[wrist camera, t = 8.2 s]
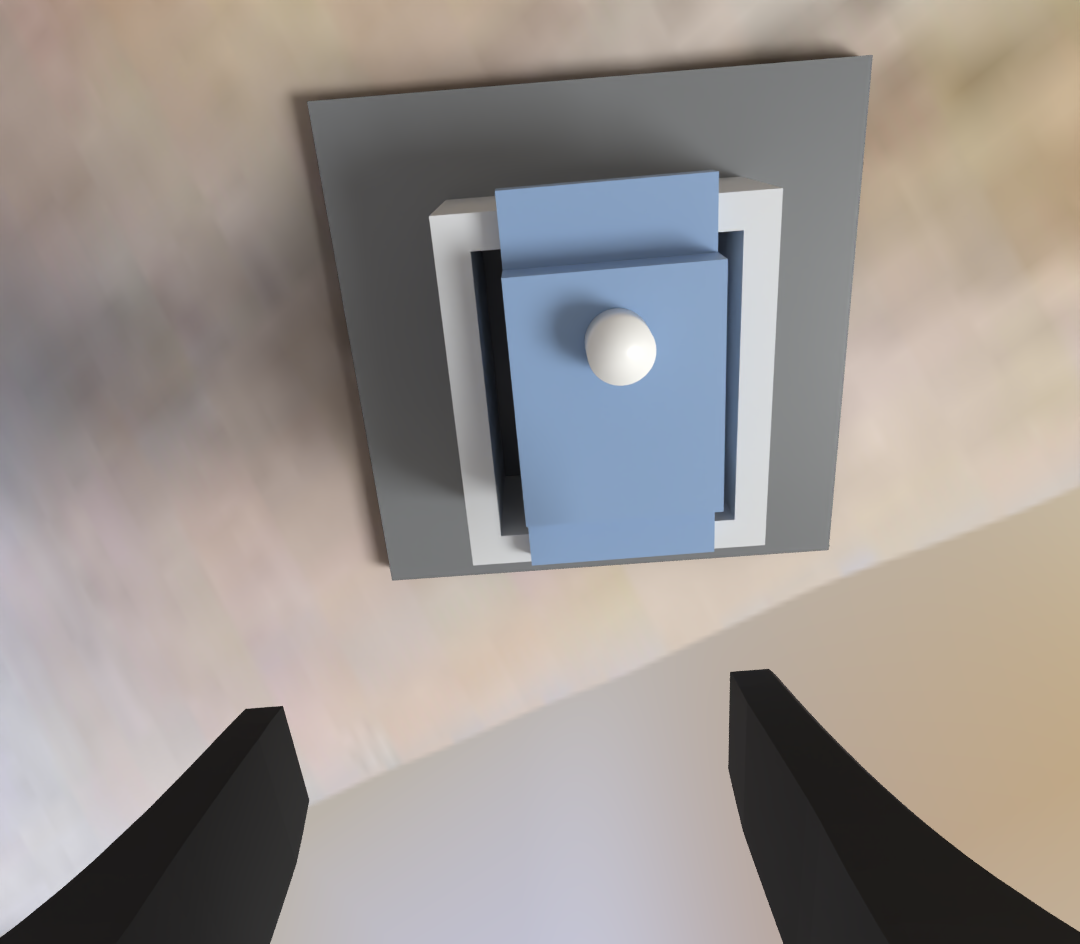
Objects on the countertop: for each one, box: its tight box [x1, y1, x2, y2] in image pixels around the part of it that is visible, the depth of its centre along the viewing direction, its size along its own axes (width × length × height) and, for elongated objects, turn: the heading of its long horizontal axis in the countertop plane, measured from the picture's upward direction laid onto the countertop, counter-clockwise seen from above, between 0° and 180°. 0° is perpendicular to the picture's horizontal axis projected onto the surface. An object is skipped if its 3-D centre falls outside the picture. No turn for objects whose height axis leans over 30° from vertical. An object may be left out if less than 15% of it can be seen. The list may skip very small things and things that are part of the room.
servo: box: [495, 170, 728, 566], centre depth 17 cm, size 4×8×5 cm, turn 5°
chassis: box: [307, 55, 873, 580], centre depth 18 cm, size 12×12×4 cm
